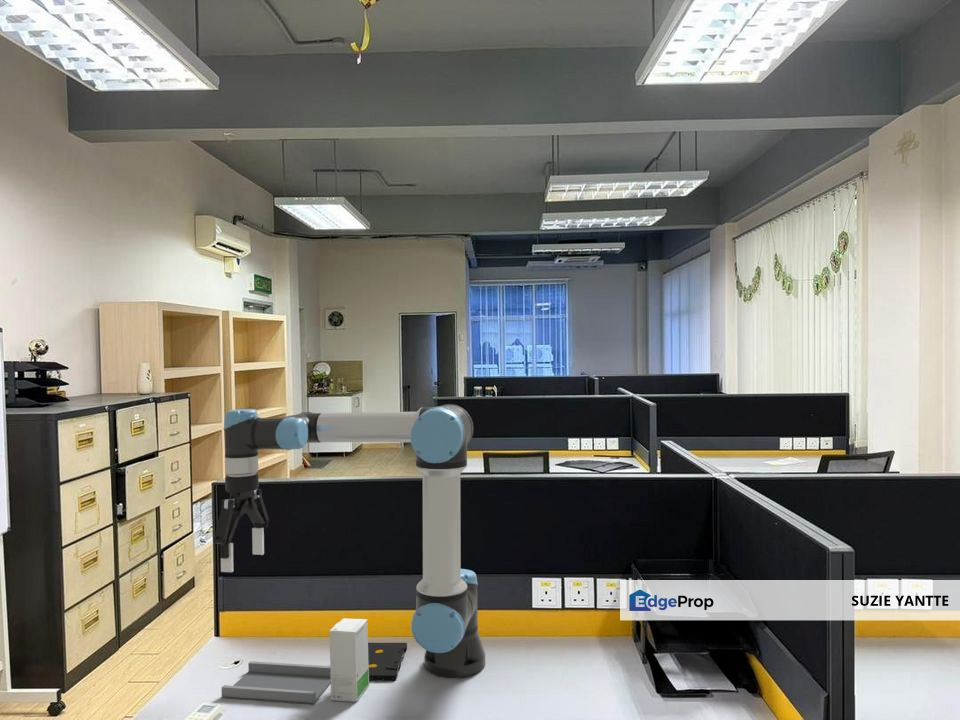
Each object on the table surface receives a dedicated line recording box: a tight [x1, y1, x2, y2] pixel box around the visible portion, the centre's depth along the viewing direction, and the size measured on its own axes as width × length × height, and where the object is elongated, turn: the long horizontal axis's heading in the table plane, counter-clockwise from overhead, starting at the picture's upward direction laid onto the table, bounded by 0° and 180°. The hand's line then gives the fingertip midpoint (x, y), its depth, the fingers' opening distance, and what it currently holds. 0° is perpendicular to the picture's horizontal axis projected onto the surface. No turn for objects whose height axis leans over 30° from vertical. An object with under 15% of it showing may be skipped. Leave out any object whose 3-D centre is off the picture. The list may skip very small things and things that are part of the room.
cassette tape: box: [368, 642, 408, 682], centre depth 165 cm, size 18×12×2 cm, turn 178°
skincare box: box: [329, 618, 370, 703], centre depth 151 cm, size 8×7×16 cm
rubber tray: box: [221, 660, 331, 706], centre depth 154 cm, size 22×13×2 cm, turn 81°
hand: (243, 562), depth 159 cm, fingers open, 13 cm apart
